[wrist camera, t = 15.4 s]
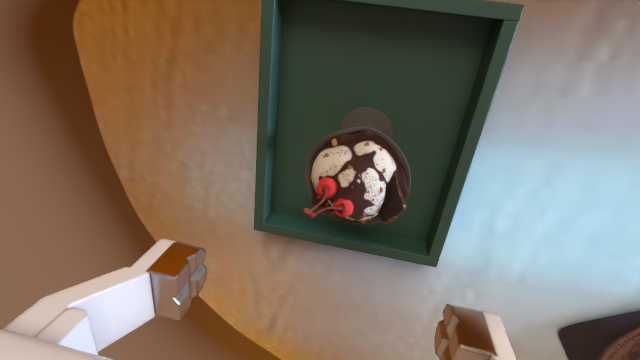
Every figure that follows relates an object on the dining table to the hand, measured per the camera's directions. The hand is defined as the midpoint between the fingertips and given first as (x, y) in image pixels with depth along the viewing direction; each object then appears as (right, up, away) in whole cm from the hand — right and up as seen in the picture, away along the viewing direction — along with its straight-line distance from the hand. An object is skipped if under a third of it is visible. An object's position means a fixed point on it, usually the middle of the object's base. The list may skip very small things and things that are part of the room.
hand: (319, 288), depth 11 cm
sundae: (+4, +8, +19) cm, 21 cm away
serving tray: (+4, +8, +19) cm, 21 cm away
